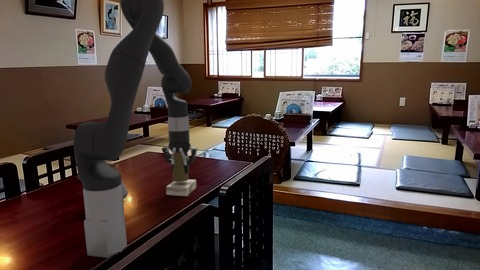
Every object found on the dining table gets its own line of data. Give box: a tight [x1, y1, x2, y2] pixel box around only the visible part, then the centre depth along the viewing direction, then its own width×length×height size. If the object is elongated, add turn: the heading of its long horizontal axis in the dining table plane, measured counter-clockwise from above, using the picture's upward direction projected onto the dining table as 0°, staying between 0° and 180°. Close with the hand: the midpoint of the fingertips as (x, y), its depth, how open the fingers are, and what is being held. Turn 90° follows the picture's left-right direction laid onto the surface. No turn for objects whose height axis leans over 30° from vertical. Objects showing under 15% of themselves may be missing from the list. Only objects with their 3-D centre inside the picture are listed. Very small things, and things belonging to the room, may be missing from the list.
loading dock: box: [165, 179, 197, 197], centre depth 137 cm, size 10×8×3 cm
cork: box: [172, 152, 189, 182], centre depth 136 cm, size 6×6×11 cm
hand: (180, 173), depth 136 cm, fingers closed on cork, 3 cm apart
